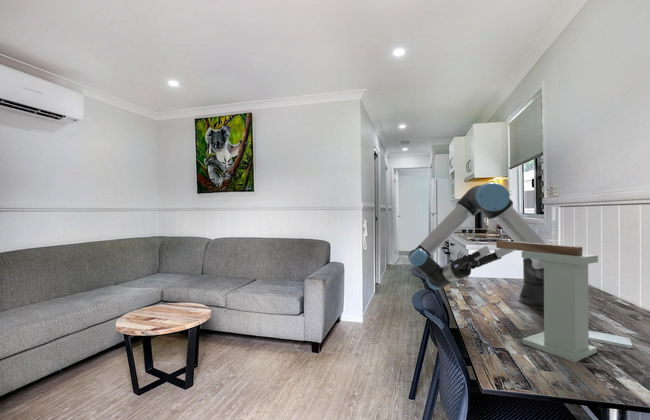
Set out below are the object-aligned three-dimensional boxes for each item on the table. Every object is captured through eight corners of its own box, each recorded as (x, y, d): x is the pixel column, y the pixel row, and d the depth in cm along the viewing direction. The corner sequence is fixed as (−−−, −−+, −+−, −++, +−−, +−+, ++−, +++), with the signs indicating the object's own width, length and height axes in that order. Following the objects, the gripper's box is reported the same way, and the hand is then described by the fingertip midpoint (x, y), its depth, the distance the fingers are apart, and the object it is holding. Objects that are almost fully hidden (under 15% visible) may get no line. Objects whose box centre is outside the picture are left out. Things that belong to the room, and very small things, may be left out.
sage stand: (541, 334, 104) (541, 249, 104) (601, 353, 90) (600, 255, 90) (519, 342, 98) (518, 251, 98) (579, 363, 84) (578, 257, 84)
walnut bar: (501, 247, 110) (501, 240, 110) (582, 255, 89) (582, 246, 89) (496, 247, 109) (496, 240, 109) (577, 256, 88) (577, 247, 88)
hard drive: (629, 337, 100) (579, 327, 108) (632, 345, 93) (579, 334, 101) (629, 342, 100) (579, 332, 108) (632, 351, 93) (579, 339, 101)
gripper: (481, 276, 130) (526, 255, 114) (439, 282, 118) (482, 260, 102) (473, 259, 133) (515, 237, 117) (431, 263, 122) (472, 240, 106)
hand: (500, 248), depth 110 cm, fingers open, 13 cm apart
